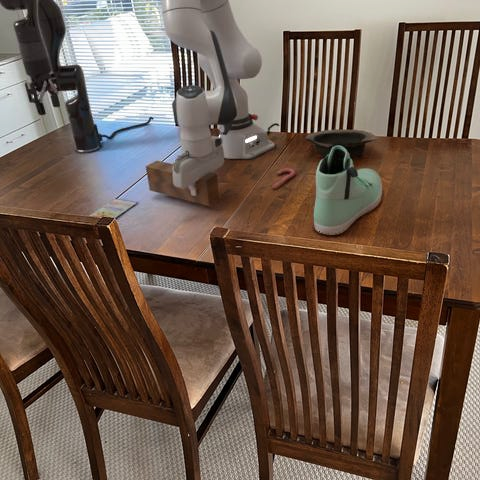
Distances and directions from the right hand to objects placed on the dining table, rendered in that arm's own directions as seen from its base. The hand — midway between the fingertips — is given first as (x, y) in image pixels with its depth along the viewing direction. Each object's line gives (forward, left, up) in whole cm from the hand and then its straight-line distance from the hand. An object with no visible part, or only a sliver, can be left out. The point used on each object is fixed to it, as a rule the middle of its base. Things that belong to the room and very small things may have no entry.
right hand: (201, 190), depth 143 cm
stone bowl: (-58, 0, -6) cm, 59 cm away
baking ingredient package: (+23, -17, -6) cm, 29 cm away
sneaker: (-30, +30, -6) cm, 43 cm away
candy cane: (-29, +2, -6) cm, 30 cm away
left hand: (+26, -46, +21) cm, 56 cm away
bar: (+3, -7, -3) cm, 8 cm away
